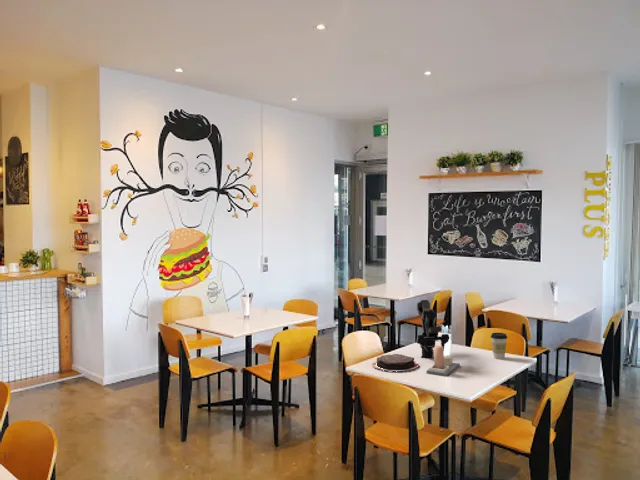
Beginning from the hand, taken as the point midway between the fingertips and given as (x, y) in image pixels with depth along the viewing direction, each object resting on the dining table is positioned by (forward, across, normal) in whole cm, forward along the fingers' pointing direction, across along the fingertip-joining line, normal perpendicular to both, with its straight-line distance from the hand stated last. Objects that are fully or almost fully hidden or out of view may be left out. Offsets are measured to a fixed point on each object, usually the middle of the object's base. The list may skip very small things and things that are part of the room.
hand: (435, 351), depth 307 cm
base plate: (+9, +4, +5) cm, 11 cm away
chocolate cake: (+1, -22, +14) cm, 26 cm away
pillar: (+11, 0, +1) cm, 11 cm away
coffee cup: (-4, +44, +20) cm, 49 cm away
